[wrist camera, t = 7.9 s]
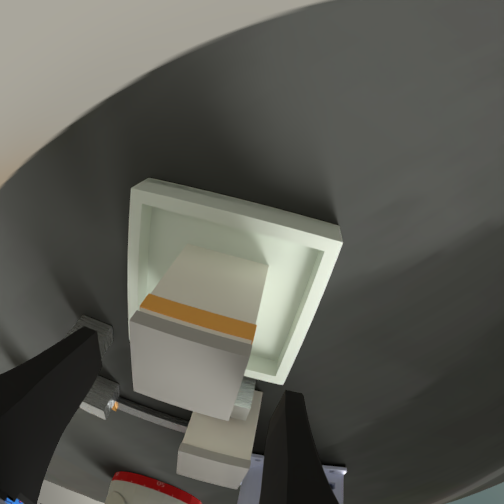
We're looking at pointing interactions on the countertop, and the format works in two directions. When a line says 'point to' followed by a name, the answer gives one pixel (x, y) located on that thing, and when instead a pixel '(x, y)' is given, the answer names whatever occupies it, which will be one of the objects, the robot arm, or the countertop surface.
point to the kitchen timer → (145, 491)
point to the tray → (240, 245)
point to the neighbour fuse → (219, 447)
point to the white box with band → (197, 331)
